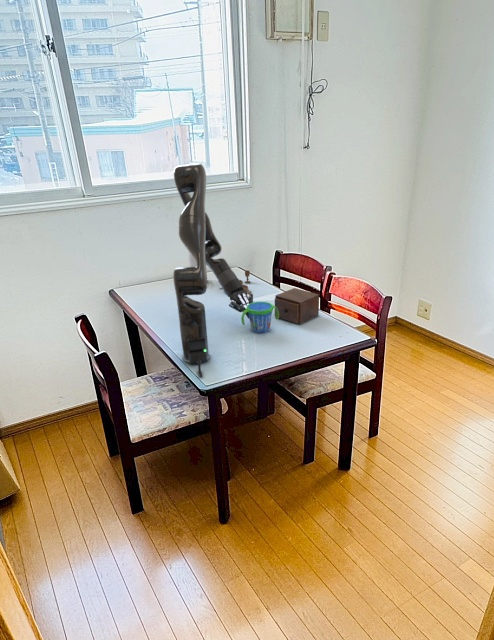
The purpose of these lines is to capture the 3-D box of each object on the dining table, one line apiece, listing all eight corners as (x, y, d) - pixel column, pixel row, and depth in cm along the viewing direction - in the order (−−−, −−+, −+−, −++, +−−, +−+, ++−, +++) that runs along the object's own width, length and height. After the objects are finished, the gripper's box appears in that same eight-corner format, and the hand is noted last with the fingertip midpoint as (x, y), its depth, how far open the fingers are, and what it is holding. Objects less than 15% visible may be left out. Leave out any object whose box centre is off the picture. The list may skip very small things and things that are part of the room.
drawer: (295, 324, 204) (295, 306, 200) (272, 316, 211) (272, 299, 207) (314, 315, 212) (314, 297, 208) (291, 308, 219) (292, 291, 215)
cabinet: (300, 324, 206) (300, 302, 201) (275, 316, 214) (275, 295, 209) (318, 315, 214) (319, 294, 209) (294, 308, 221) (294, 287, 216)
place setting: (215, 289, 246) (214, 278, 243) (247, 281, 256) (247, 269, 253) (236, 298, 234) (236, 286, 231) (269, 289, 245) (269, 277, 242)
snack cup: (245, 337, 196) (244, 313, 190) (238, 327, 204) (237, 303, 199) (282, 332, 199) (282, 308, 194) (275, 322, 208) (274, 299, 203)
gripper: (222, 281, 196) (245, 318, 196) (245, 274, 205) (267, 309, 204) (214, 291, 202) (236, 327, 202) (237, 283, 211) (258, 317, 210)
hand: (252, 318), depth 203 cm, fingers closed
